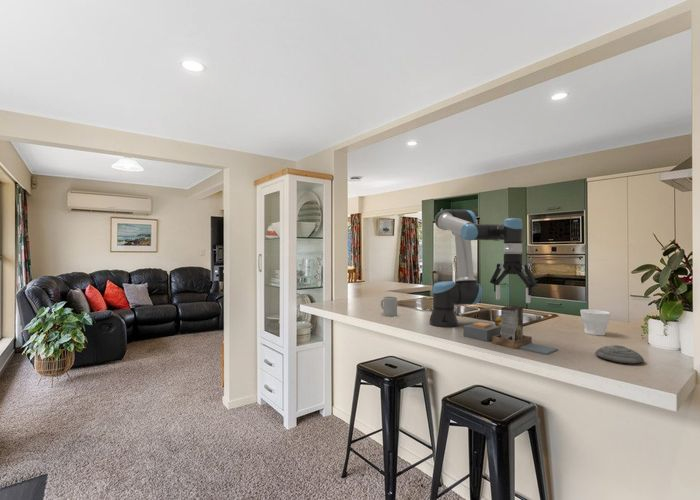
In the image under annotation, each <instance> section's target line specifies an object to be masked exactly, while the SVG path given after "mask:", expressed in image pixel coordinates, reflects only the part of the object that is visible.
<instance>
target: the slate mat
mask: <svg viewBox="0 0 700 500" xmlns="http://www.w3.org/2000/svg"><path fill="white" fill-rule="evenodd" d="M518 349H519V350H524V351H529V352H533V353H537V354H540V355H541V354H542V355H545V356H547V355H549V354H552V353H555V352H557V351H559V348H557V347H553V346H550V345H549V346H548V345H543V344H539V343H536V342H535V343H534V342H532V343H529V344H527V345H524V346H521V347H519V348H518Z"/></svg>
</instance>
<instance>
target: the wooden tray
mask: <svg viewBox="0 0 700 500" xmlns="http://www.w3.org/2000/svg"><path fill="white" fill-rule="evenodd" d="M532 340H533V337H532V336H530V335H525V334H523V339H520V340H517V341H513V340H509V339H504V338H501V334H499V335H496V336H492V340H491V343H492V344H493V345H498V346H502V347H506V348H511V349H514V350H515V349H517V350H518V349H519V347H521V346H524V345H527V344H529V343H533V341H532Z"/></svg>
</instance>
